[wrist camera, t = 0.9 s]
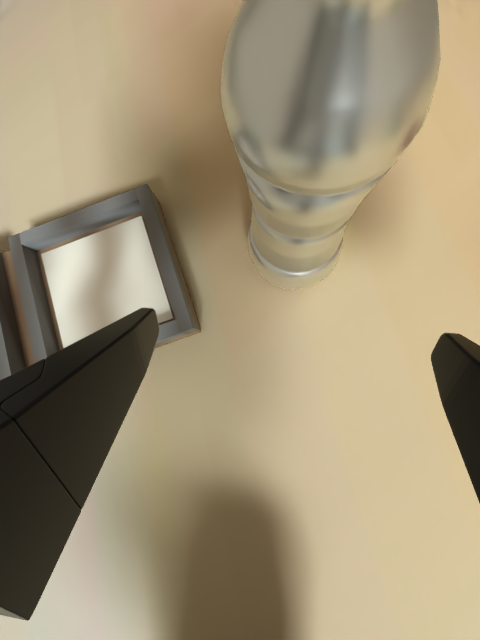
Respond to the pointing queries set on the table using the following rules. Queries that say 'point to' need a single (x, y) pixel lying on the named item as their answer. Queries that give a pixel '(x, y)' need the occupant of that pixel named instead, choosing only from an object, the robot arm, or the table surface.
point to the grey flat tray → (90, 279)
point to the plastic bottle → (322, 117)
